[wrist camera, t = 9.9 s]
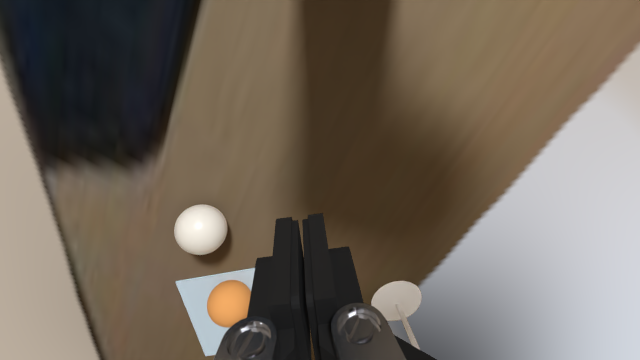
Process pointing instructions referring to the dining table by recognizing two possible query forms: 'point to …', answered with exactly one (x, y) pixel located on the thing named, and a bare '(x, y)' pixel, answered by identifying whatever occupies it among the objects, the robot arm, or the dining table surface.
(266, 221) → the dining table surface
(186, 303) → the blue mark
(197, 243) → the cue ball
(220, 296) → the orange ball
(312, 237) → the robot arm
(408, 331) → the wineglass
